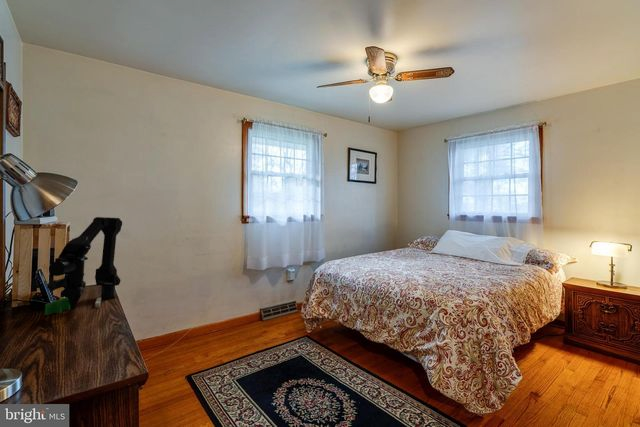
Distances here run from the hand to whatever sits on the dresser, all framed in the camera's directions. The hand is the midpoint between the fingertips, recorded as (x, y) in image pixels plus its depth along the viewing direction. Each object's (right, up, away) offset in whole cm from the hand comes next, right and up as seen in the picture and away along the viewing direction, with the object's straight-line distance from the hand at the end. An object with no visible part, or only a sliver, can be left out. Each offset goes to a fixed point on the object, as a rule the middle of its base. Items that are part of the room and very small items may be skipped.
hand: (72, 309), depth 126 cm
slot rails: (-5, -1, +7) cm, 9 cm away
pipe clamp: (-6, -1, +1) cm, 6 cm away
